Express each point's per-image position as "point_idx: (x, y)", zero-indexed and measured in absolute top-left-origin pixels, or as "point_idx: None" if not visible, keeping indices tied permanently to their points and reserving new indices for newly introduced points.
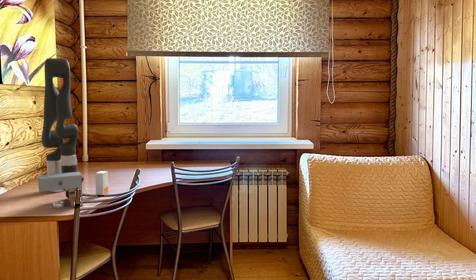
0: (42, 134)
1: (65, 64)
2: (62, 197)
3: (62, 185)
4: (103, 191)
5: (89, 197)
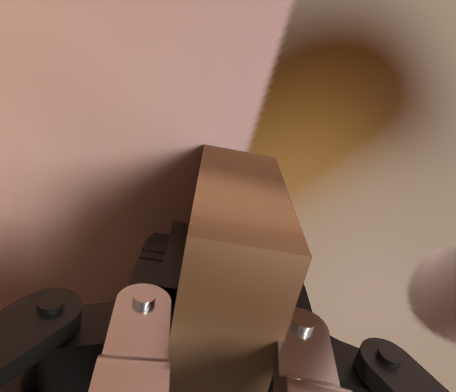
0: None
1: None
2: (136, 10)
3: None
4: None
5: (447, 271)
